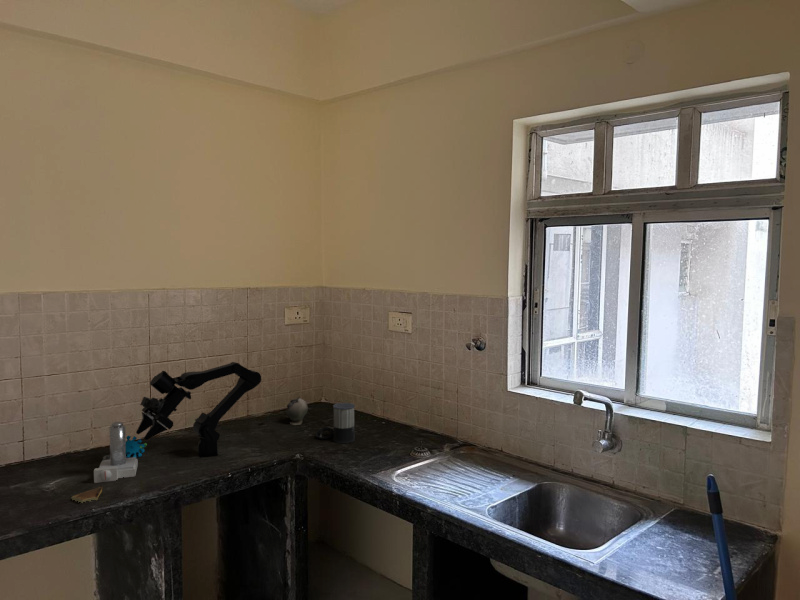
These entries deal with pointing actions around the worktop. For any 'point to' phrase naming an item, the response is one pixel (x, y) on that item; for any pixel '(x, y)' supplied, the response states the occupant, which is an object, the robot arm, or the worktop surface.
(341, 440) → the milk frother
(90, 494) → the shard
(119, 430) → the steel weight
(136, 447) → the gear
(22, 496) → the worktop surface
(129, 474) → the kitchen scale
